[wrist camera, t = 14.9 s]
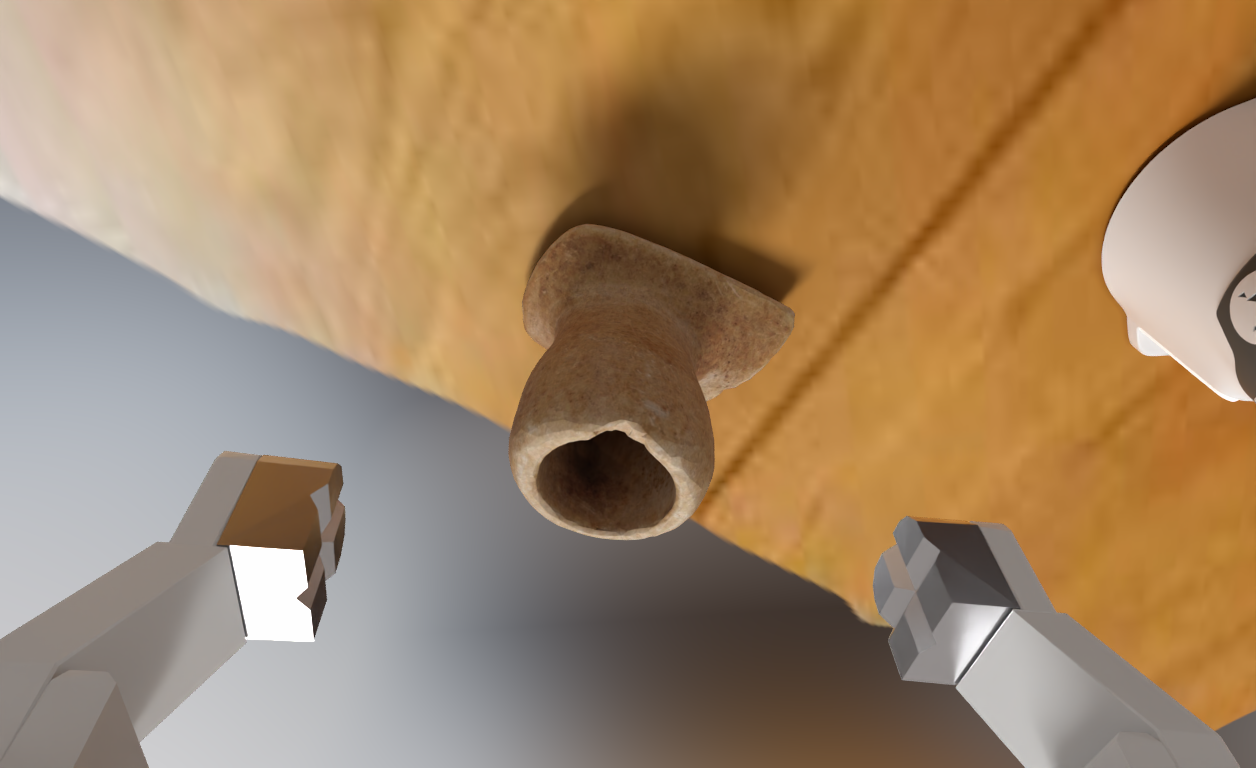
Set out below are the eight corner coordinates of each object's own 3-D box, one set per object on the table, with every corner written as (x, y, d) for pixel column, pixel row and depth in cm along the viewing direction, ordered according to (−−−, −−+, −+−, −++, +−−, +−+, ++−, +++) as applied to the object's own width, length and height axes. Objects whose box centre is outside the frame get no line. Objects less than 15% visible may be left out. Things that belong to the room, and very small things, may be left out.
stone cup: (489, 343, 51) (458, 519, 39) (573, 187, 45) (567, 338, 33) (692, 426, 56) (720, 604, 44) (793, 295, 49) (858, 462, 37)
